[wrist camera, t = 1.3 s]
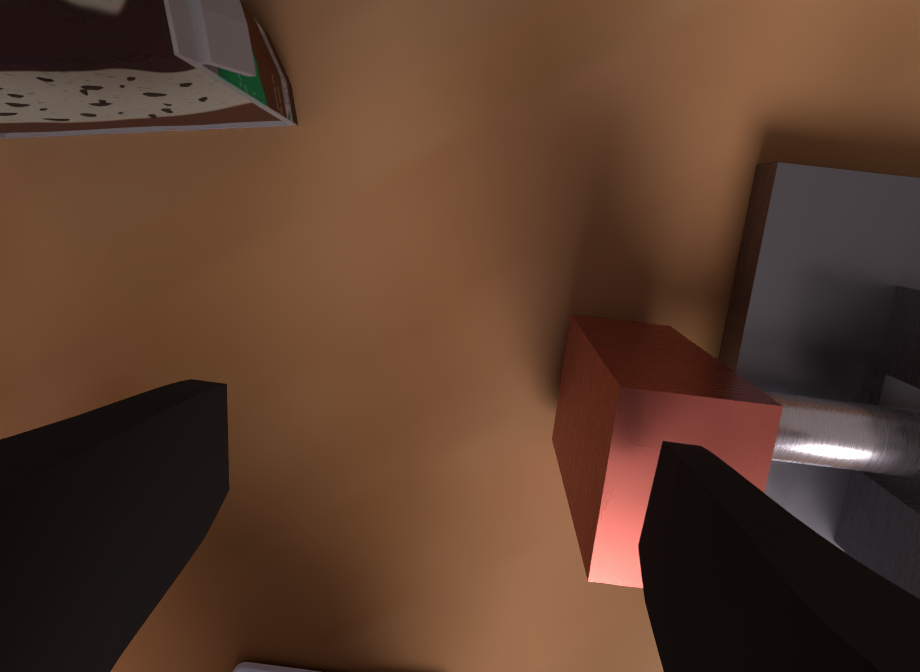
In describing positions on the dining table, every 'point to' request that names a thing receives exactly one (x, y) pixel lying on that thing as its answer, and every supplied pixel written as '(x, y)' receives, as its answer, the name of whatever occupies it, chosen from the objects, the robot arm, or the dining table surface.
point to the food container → (136, 68)
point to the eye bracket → (835, 338)
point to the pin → (689, 430)
